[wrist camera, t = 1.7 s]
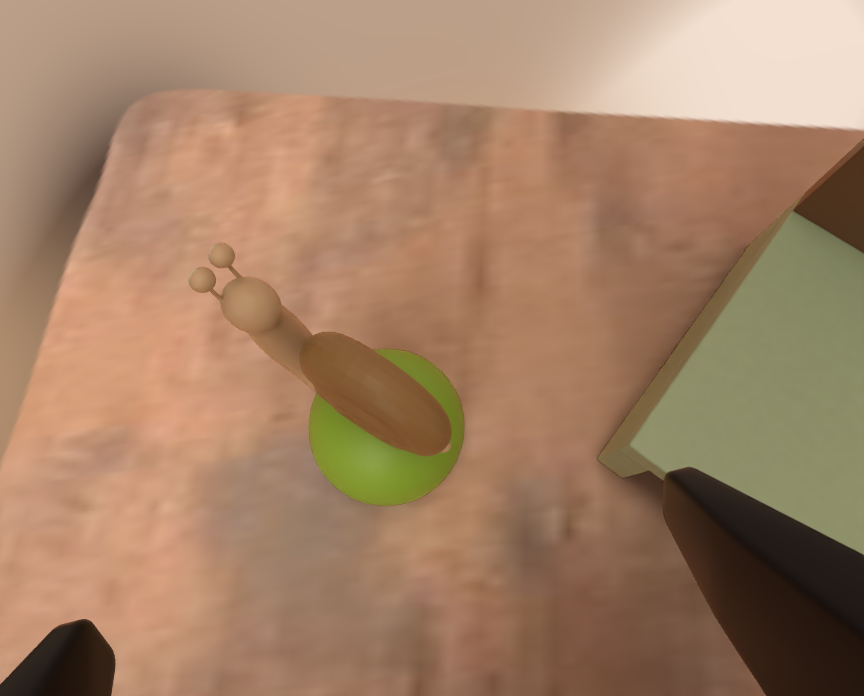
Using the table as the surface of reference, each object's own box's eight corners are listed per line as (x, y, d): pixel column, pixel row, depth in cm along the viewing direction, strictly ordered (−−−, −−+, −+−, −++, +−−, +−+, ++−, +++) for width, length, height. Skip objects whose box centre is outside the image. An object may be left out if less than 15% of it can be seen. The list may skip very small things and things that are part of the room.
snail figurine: (354, 337, 24) (273, 159, 12) (486, 415, 23) (532, 298, 11) (278, 447, 22) (108, 363, 11) (415, 536, 21) (384, 544, 10)
